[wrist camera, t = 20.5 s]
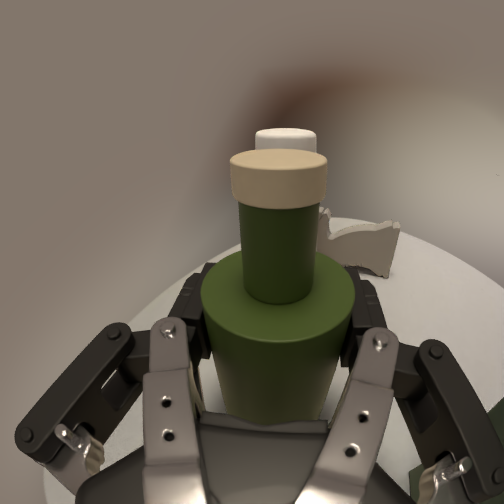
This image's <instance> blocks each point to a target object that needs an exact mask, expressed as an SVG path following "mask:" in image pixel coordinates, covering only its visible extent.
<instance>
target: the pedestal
mask: <svg viewBox="0 0 504 504" xmlns="http://www.w3.org/2000/svg"><path fill="white" fill-rule="evenodd" d="M487 415H488V417H489V418H490V420H491V422H492V424H493V426H494V428H495V431H496V433H497V435H498V437H499V439H500V441H501V443H502V446H503V448H504V397H503V398H502V399H501V400H500V401H499V402H498V403H497V404H496V405H495V406H494V407H493V408H492V409H491V410H490V411H489V412H488V413H487ZM424 471H425V470H424V467H423V465H422V464H421V465H419V466H417V467H416V468H414V469H413V470H411V471H410V472H409V474H410V488H411V498H412V499H413V500H414V501H415V502H416V503H417V502H418V499H419V496H420V491H419V480H420V477H421V475H422V473H423V472H424ZM479 504H504V492H503V493H501V494H500V495H497V496H495V497H493V498H491V499H489V500H486V501H484V502H482V503H479Z"/></svg>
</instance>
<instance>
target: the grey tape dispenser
mask: <svg viewBox="0 0 504 504" xmlns="http://www.w3.org/2000/svg"><path fill="white" fill-rule="evenodd" d="M323 211H324V207H319V220H318V233H317V252H319V253H322V254H324V255H326V256H328V257H330V258H332V259H333V260H335V261H336V262H337V263H339V264H341V265H342V266H343V267H344V266H346V267H347V266H348V264H349V266H350V265H352V266H353V267H354V265H355V266H357V264H358V265H359V267H361V265H362V266H363V267H365V268H369V269H371V270H372V271H373V272H374V273H375V274H377V275H378V276H382V275H383V277H384V278H388V274H389V271H390V267H391V264H392V260H393V256H394V252H395V248H396V245H397V240H398V236H399V232H400V223H399V222H392V220H388V221H386V222H382V223H379V224H376V225H373V224H364V225H356V226H351V227H348V228H345V229H342V230H340V231H338V232H336V233H330V230H329V220H330V217H331V215H332V214H331V212H330V209H329V208H328V209H325V211H324V213H323ZM322 213H323V215H322Z"/></svg>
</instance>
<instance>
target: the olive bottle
mask: <svg viewBox="0 0 504 504" xmlns="http://www.w3.org/2000/svg"><path fill="white" fill-rule="evenodd" d="M230 169H231V184H232V195H233V197H234V198H235V199H236V200H237V201H238V203H239V220H240V234H241V251H238V252H235V253H233V254H231V255H229V256H227V257H225V258H223V259H222V260H220V261H219V262H218V263H216V264H215V265H214V266H213V267H212V268H211V269H210V270H209V271H208V273H207V274H206V276H205V278H204V279H203V282H202V285H201V291H200V295H201V303H202V308H203V313H204V318H205V322H206V327H207V332H208V336H209V341H210V345H211V350H212V354H213V358H214V363H215V367H216V371H217V375H218V379H219V383H220V387H221V391H222V395H223V399H224V403H225V406H226V410H227V414H229V415H234V416H237V417H239V418H242V419H245V420H248V421H251V422H254V423H257V424H260V425H270V424H276V423H282V422H288V421H294V420H318V418H319V415H320V413H321V410H322V407H323V405H324V402H325V399H326V396H327V393H328V391H329V388H330V385H331V382H332V379H333V376H334V373H335V370H336V366H337V363H338V360H339V357H340V353H341V350H342V347H343V343H344V340H345V336H346V333H347V329H348V325H349V321H350V318H351V314H352V310H353V306H354V301H355V288H354V284H353V281H352V279H351V277H350V275H349V274H348V272H347V271H346V270H345V269H344V268H343V267H342V266H341V265H340V264H339V263H337V262H336V261H335V260H333V259H332V258H330V257H328V256H326V255H324V254H322V253H319V252H317V251H316V245H317V233H318V220H319V204H320V201H322V200H323V199H324V197H325V195H326V180H327V159H326V158H325V157H324V156H322V155H320V154H317V153H314V152H310V151H304V150H297V149H260V150H252V151H247V152H243V153H239V154H237V155H235V156H233V157H232V158H231V159H230Z"/></svg>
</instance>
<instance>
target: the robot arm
mask: <svg viewBox="0 0 504 504" xmlns="http://www.w3.org/2000/svg"><path fill="white" fill-rule="evenodd" d="M215 264H216V263H208V262H207V263H205V265H204V267H203V270H202V272H201V273H194V274H193V275H191V276H190V277H189V278H188V279H187V280H186V282H185V283H184V285H183V289H181V291H180V293H179V295H178V297H177V299H176V301H175V303H174V305H173V307H172V309H171V311H170V313H169V315H168V317H166V318H163V319H160V320H158V321H157V322H156V323H155V324H154V325H153V326H152V328H151V330H146V331H137V332H132V331H131V329H130V327H129V326H128V325H127V324H125V323H120V322H119V323H113V324H110V325H108V326H106V327H105V328H104V329H103V330H102V331H101V332H100V333H99V334H98V335H97V336H96V337H95V338H94V339H93V340H92V342H90V344H89V345H88V346H87V347H86V348H85V349H84V350H83V351H82V352H81V353H80V355H78V356H77V358H76V359H75V360H74V361H73V362H72V363H71V364H70V365H69V366H68V367H67V369H66V370H65V371H64V372H63V373H62V374H61V375H60V376H59V378H58V379H57V380H56V381H55V382H54V383H53V384H52V385H51V387H50V388H49V389H48V390H47V391H46V393H45V394H44V395H43V396H42V397H41V398H40V399H39V401H38V402H37V403H36V404H35V405H34V407H33V408H32V409H31V410H30V411H29V412H28V414H27V415H26V416H25V417H24V419H23V420H22V421H21V422H20V424H19V425H18V426H17V428H16V431H15V443H16V445H17V447H18V449H19V450H20V451H22V452H23V453H25V454H26V455H28V456H29V457H31V458H32V459H33V460H34V461H35V462H37V463H39V464H40V465H42V466H43V467H45V468H46V469H47V470H48V471H49V472H50V473H51V474H52V475H53V476H54V477H55V478H56V479H57V480H58V481H59V482H60V483H61V484H62V485H64V486H65V487H66V488H67V489H68V490H69V491H70V492H71V493H72V494H73V495H75V496H76V498H75V504H479V503H482V502H484V501H486V500H489V499H491V498H493V497H495V496H497V495H500V494H501V493H503V492H504V448H503V446H502V443H501V441H500V439H499V437H498V435H497V433H496V431H495V428H494V426H493V424H492V422H491V420H490V418H489V417H488V415H487V413H486V411H485V409H484V407H483V405H482V403H481V401H480V400H479V398H478V396H477V394H476V393H475V391H474V389H473V387H472V386H471V384H470V382H469V380H468V379H467V377H466V375H465V374H464V372H463V370H462V369H461V367H460V366H459V364H458V362H457V361H456V359H455V358H454V356H453V355H452V353H451V351H450V350H449V348H448V347H447V346H446V345H445V344H444V343H442V342H441V341H438V340H435V339H429V340H426V341H424V342H422V344H421V345H420V347H415V346H411V345H406V344H403V343H401V342H399V341H398V338H397V336H396V335H395V334H394V333H393V332H392V331H390V330H388V328H387V325H386V321H385V318H384V315H383V311H382V308H381V305H380V302H379V299H378V297H377V293H376V290H375V287H374V286H373V285H372V284H371V283H370V282H369V281H368V280H361V279H360V276H359V273H358V270H357V268H344V269H345V270H346V271H347V272H348V274H349V275H350V277H351V279H352V281H353V284H354V288H355V301H354V306H353V310H352V314H351V318H350V321H349V325H348V329H347V333H346V336H345V340H344V343H343V347H342V350H341V353H340V361H341V367H349V376H348V378H347V381H346V384H345V387H344V389H343V392H342V395H341V398H340V400H339V403H338V405H337V408H336V410H335V413H334V415H333V418H332V420H331V422H330V424H329V427H328V420H294V421H288V422H282V423H276V424H270V425H260V424H257V423H254V422H251V421H248V420H245V419H242V418H239V417H237V416H234V415H229V414H221V413H214V412H208V411H206V409H205V404H204V398H203V392H202V385H201V378H200V371H199V367H198V366H199V363H200V360H201V358H202V359H209V358H210V355H211V351H212V350H211V345H210V341H209V336H208V332H207V327H206V322H205V318H204V313H203V308H202V303H201V295H200V291H201V285H202V282H203V279H204V278H205V276H206V274H207V273H208V271H209V270H210V269H211V268H212V267H213V266H214V265H215ZM115 369H116V370H117V371H116V372H115V373H114V375H113V376H112V377H111V378H110V379H109V381H108V382H107V383H106V384H105V386H104V387H103V388H102V386H103V384H104V383H105V382H106V380H107V379H108V378H109V377H110V376H111V374H112V373H113V372H114V371H115ZM101 388H102V389H101ZM142 391H143V439H144V445H143V446H141V447H140V448H138V449H137V450H135V451H133V452H132V453H130V454H129V455H127V456H125V457H124V458H122V459H121V460H119V461H117V462H116V463H114V464H112V465H110V466H109V467H107V468H105V469H104V470H102V471H100V465H102V464H103V463H104V462H105V457H104V448H103V445H104V443H105V442H106V441H107V439H108V438H109V437H110V435H111V434H112V432H113V431H114V430H115V428H116V427H117V426H118V424H119V423H120V421H121V420H122V419H123V417H124V416H125V415H126V413H127V412H128V411H129V409H130V408H131V406H132V405H133V404H134V402H135V401H136V400H137V398H138V397H139V396H140V394H141V393H142ZM393 397H395V399H396V401H397V404H398V406H399V408H400V410H401V413H402V415H403V417H404V420H405V422H406V424H407V427H408V429H409V432H410V434H411V437H412V439H413V441H414V444H415V446H416V449H417V452H418V454H419V457H420V459H421V462H422V465H423V467H424V470H425V471H424V472H423V473H422V475H421V477H420V480H419V491H420V496H419V499H418V502H417V503H416V502H415V501H414V500H413V499H412V498H411V497H410V496H409V495H408V494H407V493H406V492H405V491H404V490H403V489H402V488H401V487H400V486H399V485H398V484H397V483H396V482H395V481H394V480H393V479H392V478H391V477H390V476H389V475H388V474H387V473H386V472H385V471H384V470H383V469H382V468H381V467H380V466H379V465H378V464H377V463H376V462H375V461H376V458H377V455H378V452H379V449H380V446H381V443H382V439H383V436H384V432H385V429H386V425H387V421H388V418H389V414H390V409H391V405H392V401H393Z"/></svg>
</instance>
